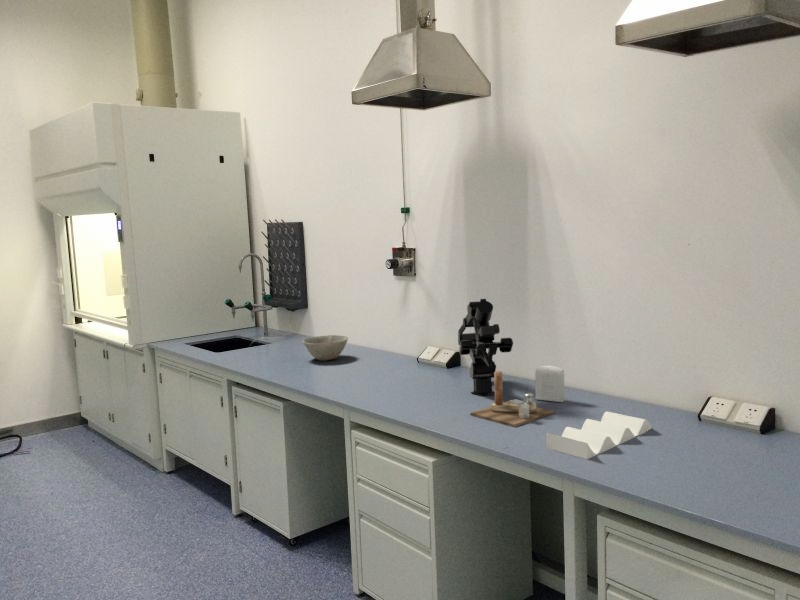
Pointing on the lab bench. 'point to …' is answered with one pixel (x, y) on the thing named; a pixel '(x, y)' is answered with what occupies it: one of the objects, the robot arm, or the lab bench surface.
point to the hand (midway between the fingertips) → (489, 366)
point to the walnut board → (510, 416)
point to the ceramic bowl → (325, 346)
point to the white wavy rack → (598, 435)
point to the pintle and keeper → (523, 405)
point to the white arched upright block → (549, 383)
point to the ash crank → (499, 397)
